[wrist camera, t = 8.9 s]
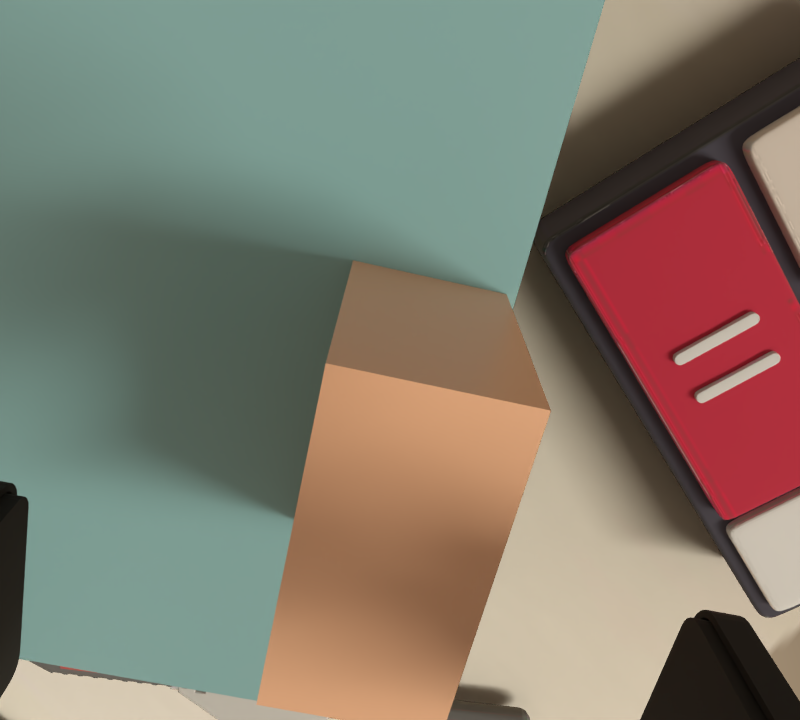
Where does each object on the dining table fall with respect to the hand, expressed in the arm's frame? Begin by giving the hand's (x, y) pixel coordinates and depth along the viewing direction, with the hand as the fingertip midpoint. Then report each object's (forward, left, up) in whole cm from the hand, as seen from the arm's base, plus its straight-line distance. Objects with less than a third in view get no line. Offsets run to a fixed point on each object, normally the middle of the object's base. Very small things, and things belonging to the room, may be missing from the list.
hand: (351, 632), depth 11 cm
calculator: (+2, -13, -16) cm, 20 cm away
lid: (+1, +8, -7) cm, 10 cm away
